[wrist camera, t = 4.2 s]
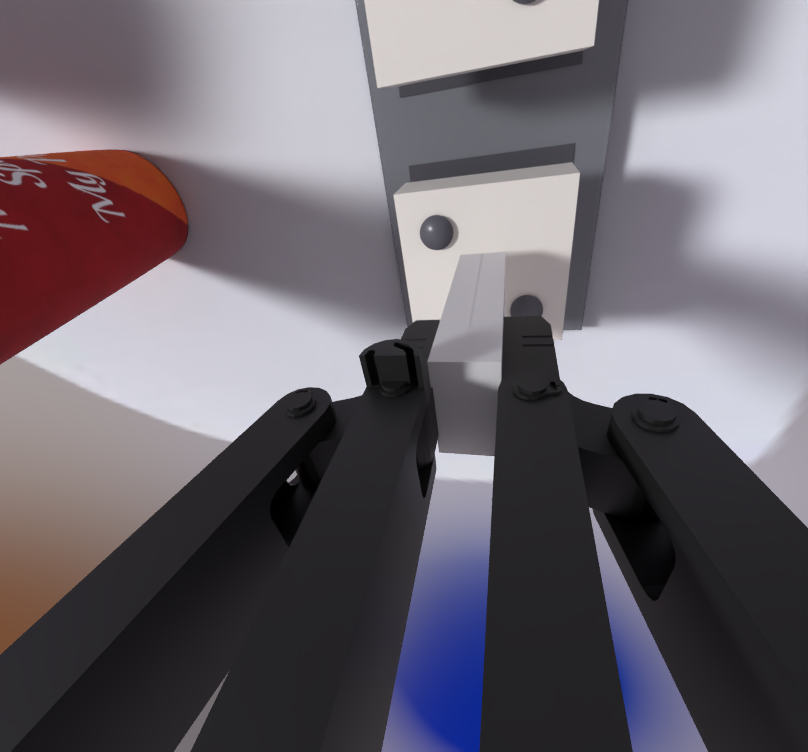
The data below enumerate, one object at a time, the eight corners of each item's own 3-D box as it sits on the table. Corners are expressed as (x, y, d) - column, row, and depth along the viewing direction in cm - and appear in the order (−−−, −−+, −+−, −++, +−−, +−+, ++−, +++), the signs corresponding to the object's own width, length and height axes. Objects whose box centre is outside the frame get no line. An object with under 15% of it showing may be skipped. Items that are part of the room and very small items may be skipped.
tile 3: (405, 183, 15) (392, 195, 13) (571, 162, 13) (580, 173, 12) (423, 319, 18) (414, 343, 17) (557, 315, 17) (562, 341, 15)
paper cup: (179, 127, 18) (-296, 194, 8) (222, 278, 23) (-32, 452, 12) (45, 120, 20) (-529, 168, 9) (112, 265, 24) (-208, 412, 13)
